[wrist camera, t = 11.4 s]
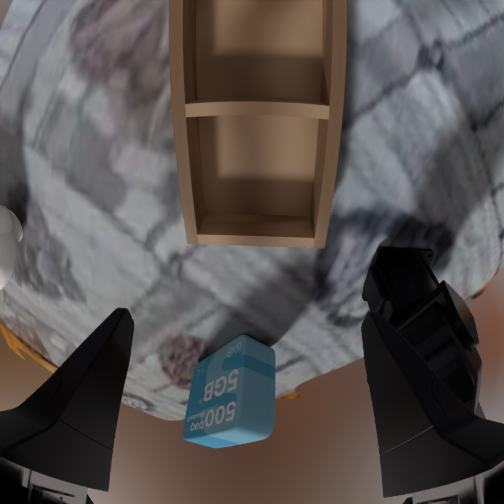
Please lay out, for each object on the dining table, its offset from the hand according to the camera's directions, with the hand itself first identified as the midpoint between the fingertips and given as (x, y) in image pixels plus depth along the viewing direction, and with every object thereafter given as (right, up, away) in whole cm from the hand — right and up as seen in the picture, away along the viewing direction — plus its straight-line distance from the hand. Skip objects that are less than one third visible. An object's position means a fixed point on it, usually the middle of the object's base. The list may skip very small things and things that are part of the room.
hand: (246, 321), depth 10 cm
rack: (+1, +16, +4) cm, 17 cm away
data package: (-2, -11, +25) cm, 27 cm away
